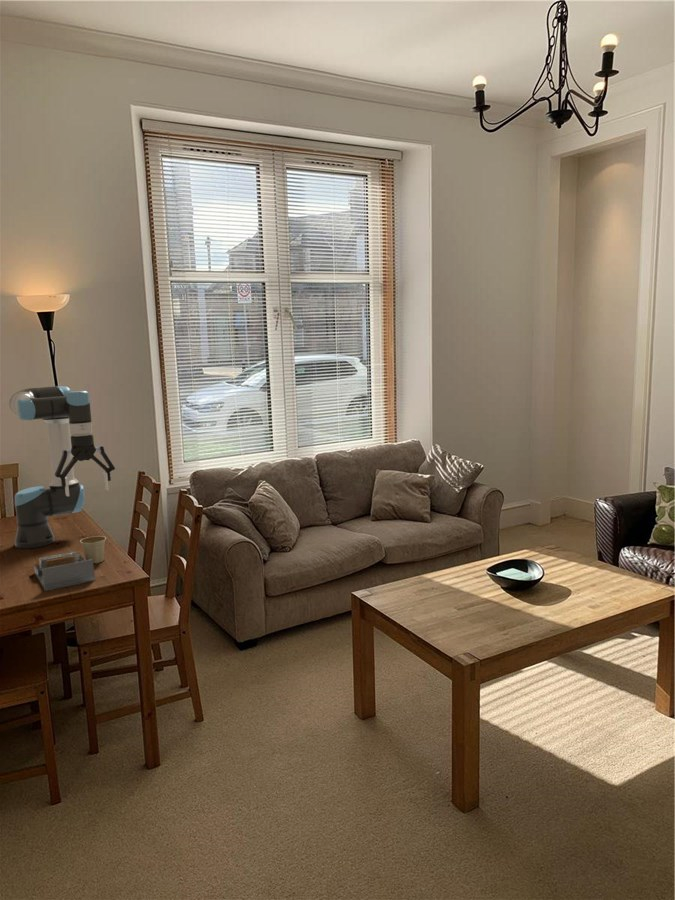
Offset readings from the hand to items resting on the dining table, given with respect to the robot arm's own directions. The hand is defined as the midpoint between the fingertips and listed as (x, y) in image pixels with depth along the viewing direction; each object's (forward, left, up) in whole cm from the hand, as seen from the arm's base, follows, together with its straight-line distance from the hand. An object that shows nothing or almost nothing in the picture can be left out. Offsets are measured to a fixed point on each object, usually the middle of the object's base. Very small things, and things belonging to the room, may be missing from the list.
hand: (87, 492), depth 238 cm
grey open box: (+4, -11, -28) cm, 30 cm away
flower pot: (-7, +2, -28) cm, 29 cm away
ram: (-3, -11, -26) cm, 28 cm away
